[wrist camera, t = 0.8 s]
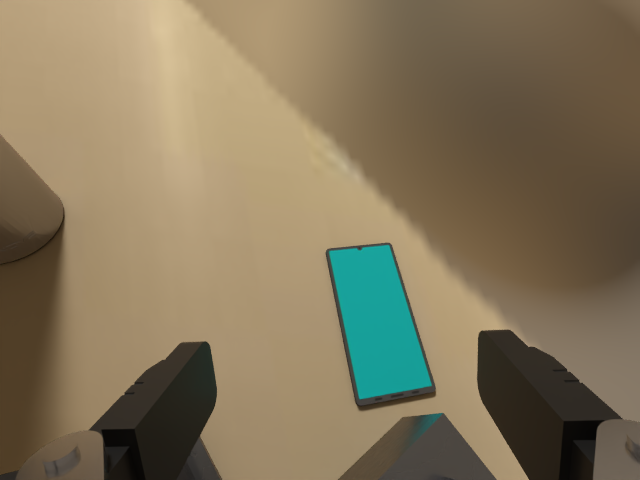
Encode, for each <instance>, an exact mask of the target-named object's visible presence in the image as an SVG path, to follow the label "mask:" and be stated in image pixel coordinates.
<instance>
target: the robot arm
mask: <svg viewBox="0 0 640 480" xmlns="http://www.w3.org/2000/svg"><path fill="white" fill-rule="evenodd" d="M63 213H64V211H63V204H62V202H61V200H60V198H59V197H58V196H57V195H56V194H55V193H54V192H53V191H52V190H51V189H50V187H49V186H48V185H47V184H46V183H45V182H44V181H43V180H42V179H41V178H40V177H39V176H38V174H37V173H36V172H35V171H34V170H33V169H32V168H31V167H30V166H29V164H28V163H27V162H26V161H25V160H24V159H23V158H22V157H21V156H20V155H19V154H18V153H17V152H16V151H15V149H14V148H13V147H12V146H11V145H10V144H9V143H8V142H7V141H6V140H5V139H4V138H3V137H2V135H1V134H0V264H2V263H7V262H11V261H15V260H17V259H20V258H23V257H25V256H27V255H29V254H31V253H33V252H35V251H36V250H38V249H39V248H41V247H42V246H43V245H45V244H46V243H47V242H48V241H49V240H50V239H51V238H52V237H53V236H54V234H55V233H56V232H57V230H58V229H59V227H60V225H61V222H62V220H63ZM477 382H478V389H479V394H480V397H481V400H482V402H483V404H484V406H485V407H486V409H487V411H488V412H489V414H490V416H491V417H492V419H493V421H494V422H495V424H496V426H497V427H498V429H499V430H500V432H501V434H502V435H503V437H504V439H505V440H506V442H507V444H508V445H509V447H510V449H511V450H512V452H513V454H514V455H515V457H516V459H517V460H518V462H519V464H520V465H521V467H522V468H523V470H524V472H525V473H526V475H527V477H528V478H529V480H640V422H636V421H631V420H624V419H622V418H621V417H620V416H619V415H618V414H617V413H616V412H614V411H613V410H612V409H611V408H610V407H609V406H608V405H607V404H605V403H604V402H603V401H602V400H601V399H600V398H598V396H596V395H595V394H594V393H593V392H592V391H591V390H590V389H589V388H587V387H586V386H585V385H584V384H583V383H580V382H579V380H578V379H577V378H576V377H575V376H574V375H573V374H572V373H571V372H567V369H566V368H565V367H564V366H563V365H562V364H560V363H559V362H558V361H557V360H556V359H555V358H554V357H552V356H550V355H548V354H547V353H545V352H543V351H541V350H539V349H537V348H535V347H528V346H527V345H526V344H525V343H524V342H523V341H522V340H521V339H519V338H518V337H517V336H516V335H515V334H514V333H513V332H512V331H511V330H488V331H481V332H480V333H479V337H478V372H477ZM216 397H217V386H216V380H215V374H214V367H213V361H212V355H211V349H210V345H209V344H208V342H183V343H180V344H179V345H178V346H177V347H176V348H175V349H174V351H173V352H172V353H171V354H170V355H169V356H168V357H167V358H166V359H165V360H162V361H160V362H159V363H157V364H155V365H154V366H152V367H151V368H149V369H148V370H146V371H145V372H144V373H143V374H142V375H141V376H140V377H139V378H138V379H137V380H136V381H135V384H134V385H132V386H131V387H130V388H129V389H128V390H127V391H126V392H125V395H122V396H121V397H120V398H119V399H118V400H117V401H116V402H115V403H114V404H113V405H112V406H111V407H110V408H109V410H108V411H107V412H106V413H105V414H104V415H103V416H102V417H101V418H100V419H99V420H98V421H97V422H96V423H95V424H94V425H93V426H92V427H91V428H90V429H89V430H88V431H79V432H75V433H71V434H68V435H66V436H63V437H61V438H58V439H56V440H54V441H52V442H51V443H49V444H47V445H46V446H44V447H42V448H41V449H40V450H38V451H37V452H36V453H34V454H33V455H32V456H31V457H30V458H29V459H28V460H27V461H26V462H25V463H24V464H23V465H22V467H21V468H20V470H18V471H14V472H10V473H7V474H3V475H0V480H177V478H178V476H179V474H180V472H181V470H182V468H183V466H184V464H185V463H186V461H187V459H188V457H189V455H190V453H191V451H192V449H193V447H194V445H195V444H196V442H197V440H198V438H199V436H200V434H201V432H202V430H203V428H204V427H205V425H206V423H207V421H208V419H209V417H210V415H211V413H212V411H213V409H214V407H215V403H216Z"/></svg>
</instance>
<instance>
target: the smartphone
mask: <svg viewBox="0 0 640 480" xmlns="http://www.w3.org/2000/svg"><path fill="white" fill-rule="evenodd" d="M326 257H327V262H328V267H329V272H330V277H331V282H332V287H333V292H334V297H335V302H336V307H337V312H338V317H339V322H340V327H341V332H342V337H343V342H344V347H345V352H346V357H347V362H348V367H349V372H350V377H351V382H352V387H353V392H354V397H355V402H356V404H357V405H358V406H363V405H368V404H373V403H378V402H384V401H389V400H394V399H399V398H405V397H410V396H415V395H420V394H426V393H431V392H434V391H435V389H436V387H435V384H434V381H433V377H432V374H431V371H430V368H429V364H428V361H427V358H426V355H425V351H424V348H423V345H422V342H421V338H420V335H419V332H418V329H417V325H416V322H415V319H414V316H413V313H412V309H411V306H410V303H409V299H408V296H407V293H406V290H405V286H404V283H403V280H402V277H401V273H400V270H399V267H398V264H397V261H396V257H395V254H394V251H393V248H392V245H391V244H390V243H381V244H371V245H360V246H351V247H341V248H331V249H327V251H326Z"/></svg>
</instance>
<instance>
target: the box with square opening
mask: <svg viewBox="0 0 640 480" xmlns="http://www.w3.org/2000/svg"><path fill="white" fill-rule="evenodd" d="M338 480H496V478H495V477H494V476H493V475H492V473H491V472H490V471H489V470H488V468H487V467H486V466H485V465H484V463H483V462H482V461H481V460H480V458H479V457H478V456H477V455H476V453H475V452H474V451H473V450H472V448H471V447H470V446H469V445H468V443H467V442H466V441H465V440H464V438H463V437H462V436H461V435H460V433H459V432H458V431H457V430H456V428H455V427H454V426H453V425H452V423H451V422H450V421H449V420H448V418H447V417H446V416H445V414H444V413H439V414H429V415H420V416H411V417H403V418H402V419H401V420H399V421H398V422H397V423H396V424H395V425H394V426H393V427H392V428H391V429H390V430H389V431H388V432H387V433H386V434H385V435H384V436H383V437H382V438H381V439H380V440H379V441H378V442H377V443H376V444H374V445H373V446H372V447H371V448H370V449H369V450H368V451H367V452H366V453H365V454H364V455H363V456H362V457H361V458H360V459H359V460H358V461H357V462H356V463H355V464H354V465H353V466H352V467H351V468H349V469H348V470H347V471H346V472H345V473H344V474H343V475H342V476H341V477H340V478H339V479H338Z"/></svg>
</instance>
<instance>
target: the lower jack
mask: <svg viewBox="0 0 640 480" xmlns="http://www.w3.org/2000/svg"><path fill="white" fill-rule="evenodd" d="M177 480H222V478H221V476H220V475H219V473H218V471H217V469H216V467H215V465H214V463H213V461H212V459H211V457H210V455H209V453H208V451H207V449H206V447H205V445H204V443H203V441H202V440H201V438H200V436H199V438H198V440H197V442H196V444H195V445H194V447H193V449H192V451H191V453H190V455H189V457H188V459H187V461H186V463H185V464H184V466H183V468H182V470H181V472H180V474H179V476H178V478H177Z"/></svg>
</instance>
